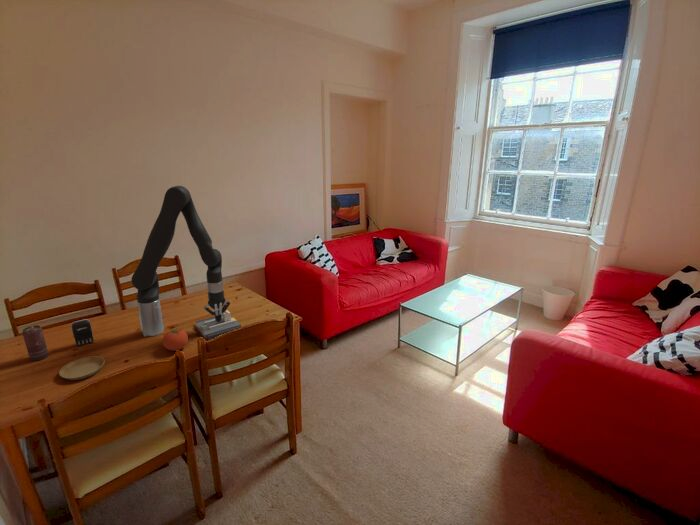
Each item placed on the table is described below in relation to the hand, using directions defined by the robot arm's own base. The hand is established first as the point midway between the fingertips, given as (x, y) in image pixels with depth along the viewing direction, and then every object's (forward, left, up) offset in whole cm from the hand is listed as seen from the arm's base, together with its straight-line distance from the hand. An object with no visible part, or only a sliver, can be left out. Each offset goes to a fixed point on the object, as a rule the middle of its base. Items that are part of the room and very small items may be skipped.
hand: (218, 321), depth 178 cm
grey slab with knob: (0, 0, -4) cm, 4 cm away
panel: (0, 0, -4) cm, 4 cm away
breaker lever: (+4, 0, -1) cm, 4 cm away
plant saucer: (-56, -5, -4) cm, 57 cm away
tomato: (-22, -9, -4) cm, 24 cm away
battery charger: (-54, +20, -4) cm, 58 cm away
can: (-70, +18, -4) cm, 73 cm away
